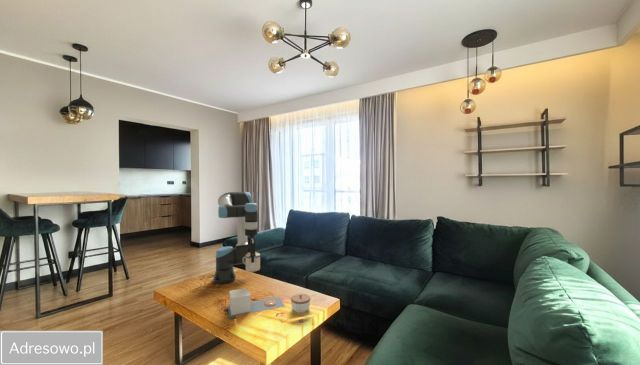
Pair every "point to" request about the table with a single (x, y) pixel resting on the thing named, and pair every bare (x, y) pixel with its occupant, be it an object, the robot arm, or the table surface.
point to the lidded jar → (300, 302)
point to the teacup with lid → (257, 262)
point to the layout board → (261, 306)
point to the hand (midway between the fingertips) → (251, 265)
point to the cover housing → (240, 301)
